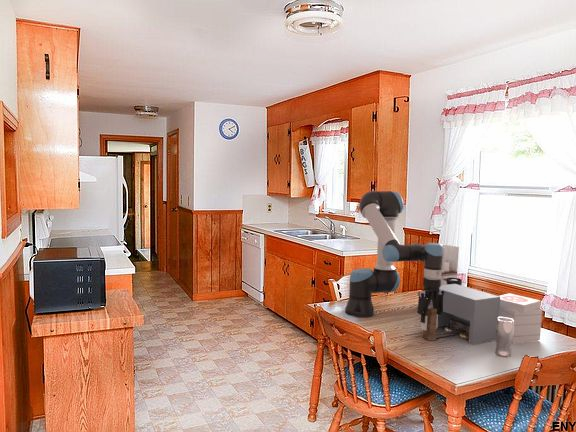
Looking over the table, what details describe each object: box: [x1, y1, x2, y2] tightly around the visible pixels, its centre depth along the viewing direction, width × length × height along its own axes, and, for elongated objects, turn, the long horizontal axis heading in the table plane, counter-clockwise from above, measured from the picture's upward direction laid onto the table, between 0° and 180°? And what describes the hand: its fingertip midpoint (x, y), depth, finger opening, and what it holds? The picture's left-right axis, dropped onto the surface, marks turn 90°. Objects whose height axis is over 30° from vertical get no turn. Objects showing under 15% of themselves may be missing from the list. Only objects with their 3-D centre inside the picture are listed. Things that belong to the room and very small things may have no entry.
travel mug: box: [446, 277, 463, 286], centre depth 241 cm, size 8×8×20 cm
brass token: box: [458, 332, 469, 340], centre depth 211 cm, size 5×5×2 cm
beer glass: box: [494, 317, 514, 358], centre depth 190 cm, size 7×7×15 cm
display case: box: [429, 243, 460, 306], centre depth 258 cm, size 11×11×35 cm
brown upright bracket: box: [421, 306, 470, 342], centre depth 211 cm, size 18×25×14 cm
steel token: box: [443, 325, 457, 332], centre depth 219 cm, size 5×5×2 cm
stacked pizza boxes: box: [498, 293, 543, 345], centre depth 217 cm, size 19×30×18 cm, turn 15°
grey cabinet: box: [430, 284, 500, 346], centre depth 215 cm, size 26×16×20 cm, turn 27°
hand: (429, 328), depth 206 cm, fingers open, 6 cm apart
